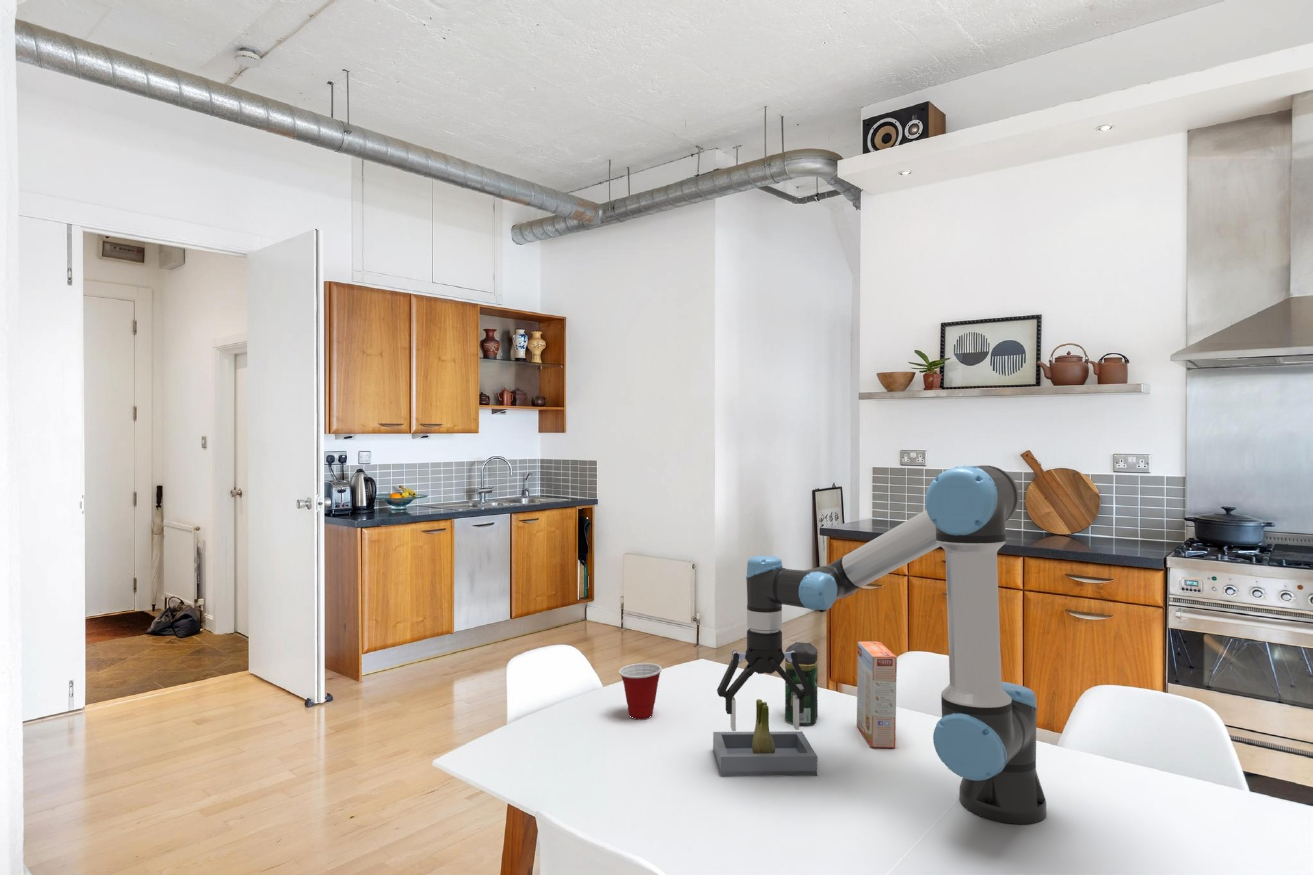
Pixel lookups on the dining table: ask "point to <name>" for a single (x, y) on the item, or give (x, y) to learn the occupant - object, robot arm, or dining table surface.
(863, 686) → the cracker box
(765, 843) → the dining table surface
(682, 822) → the dining table surface
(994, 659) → the robot arm
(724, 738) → the bin
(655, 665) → the plastic cup
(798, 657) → the coffee jar
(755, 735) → the fennel bulb
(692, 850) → the dining table surface
